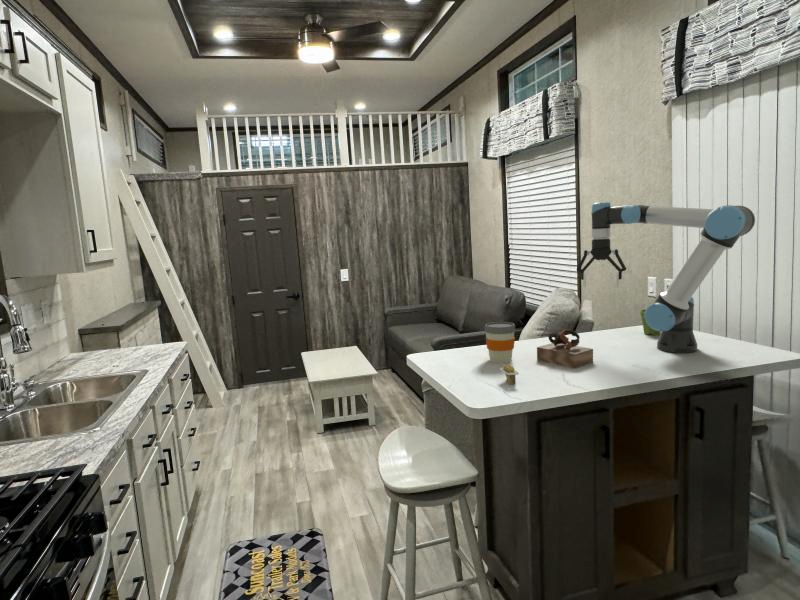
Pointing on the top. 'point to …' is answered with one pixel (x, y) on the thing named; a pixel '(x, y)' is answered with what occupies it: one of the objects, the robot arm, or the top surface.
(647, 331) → the plant pot
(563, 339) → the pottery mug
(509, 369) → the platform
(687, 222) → the robot arm
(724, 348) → the top surface
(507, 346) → the reusable coffee cup
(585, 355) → the walnut box
